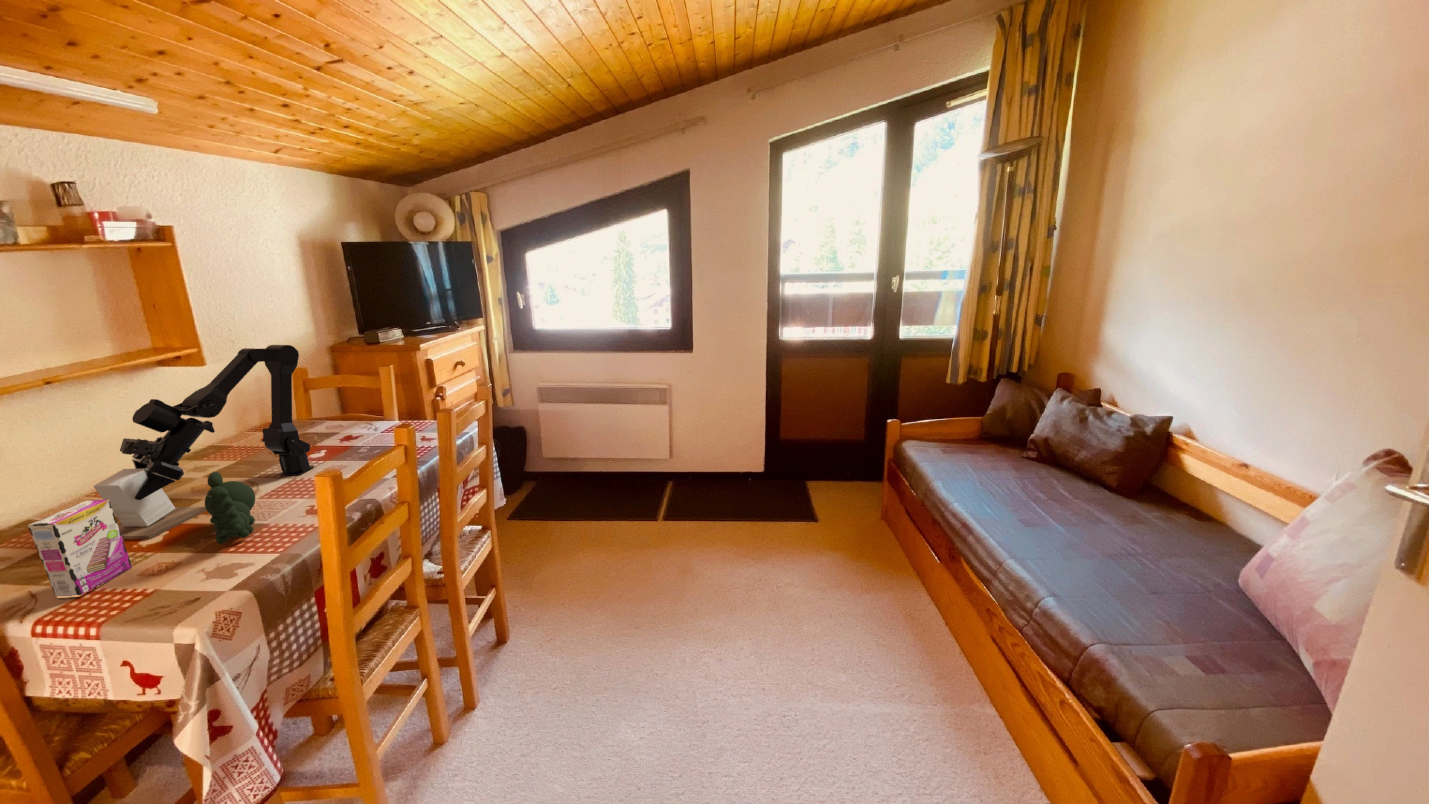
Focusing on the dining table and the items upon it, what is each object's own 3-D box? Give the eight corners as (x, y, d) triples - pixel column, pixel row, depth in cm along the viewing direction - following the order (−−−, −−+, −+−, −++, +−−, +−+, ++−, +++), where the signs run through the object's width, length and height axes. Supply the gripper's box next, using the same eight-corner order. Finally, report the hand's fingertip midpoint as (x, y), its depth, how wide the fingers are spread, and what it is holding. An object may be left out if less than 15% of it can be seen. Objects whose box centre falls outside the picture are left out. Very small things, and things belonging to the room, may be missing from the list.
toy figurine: (262, 548, 128) (261, 504, 146) (240, 476, 121) (241, 439, 140) (209, 563, 122) (214, 515, 140) (182, 489, 116) (192, 448, 134)
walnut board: (207, 510, 145) (206, 506, 145) (149, 539, 130) (148, 535, 130) (153, 511, 145) (152, 507, 145) (89, 540, 131) (88, 536, 131)
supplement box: (177, 508, 141) (149, 467, 135) (147, 527, 134) (117, 485, 128) (152, 508, 142) (124, 467, 136) (122, 527, 135) (91, 485, 129)
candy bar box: (83, 598, 108) (52, 523, 104) (55, 600, 108) (24, 525, 103) (135, 566, 119) (110, 498, 114) (111, 568, 119) (84, 499, 114)
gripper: (132, 419, 139) (83, 474, 134) (150, 430, 129) (98, 490, 123) (182, 439, 148) (138, 491, 142) (203, 451, 137) (157, 508, 132)
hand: (132, 495), depth 135 cm, fingers closed on supplement box, 9 cm apart
